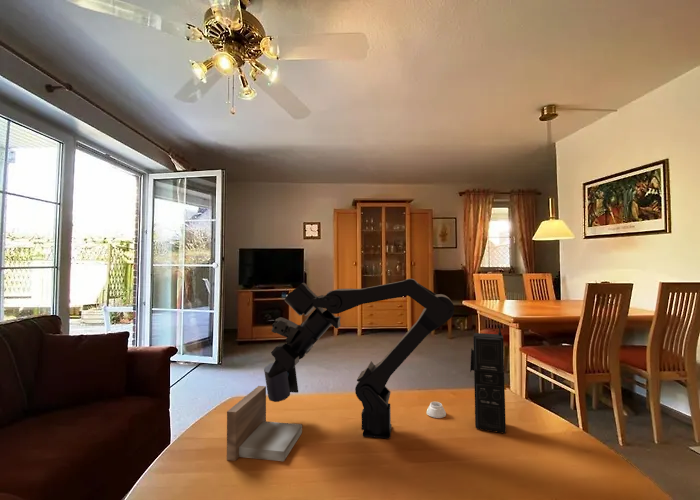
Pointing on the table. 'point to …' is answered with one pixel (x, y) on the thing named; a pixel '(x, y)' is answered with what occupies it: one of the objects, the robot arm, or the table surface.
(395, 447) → the table surface
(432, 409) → the lidless jar
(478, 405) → the portable radio
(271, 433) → the wall board
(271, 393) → the dark grey mug
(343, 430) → the table surface
